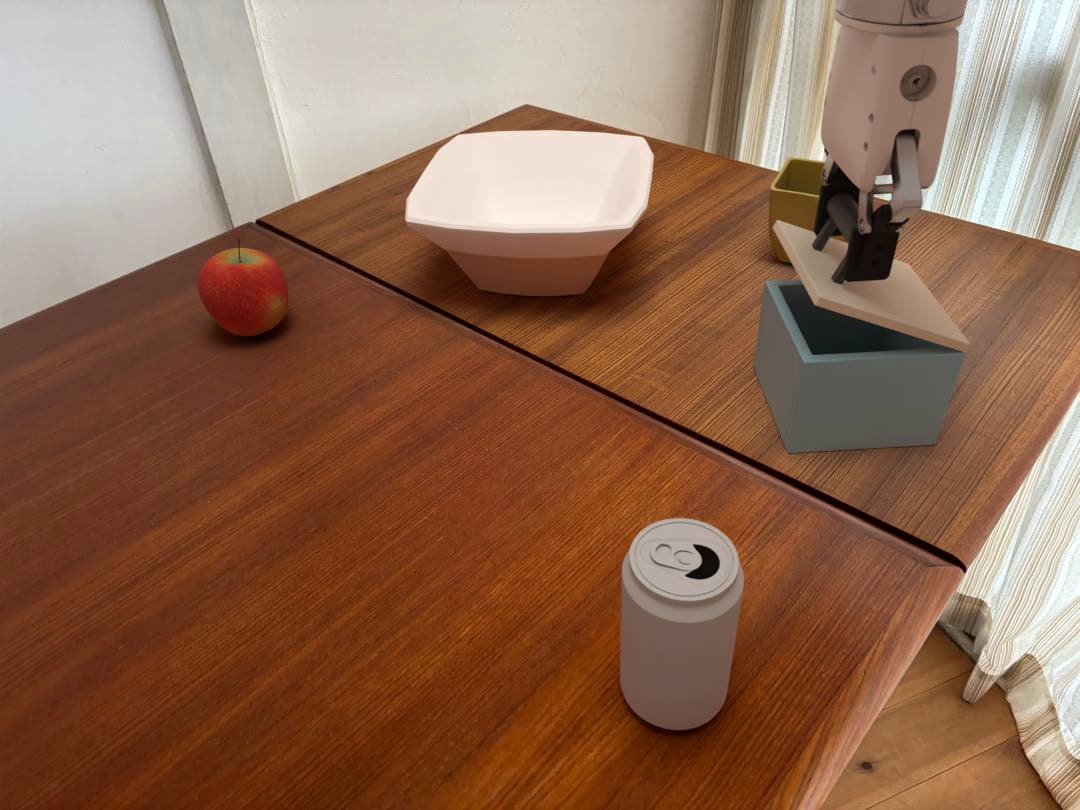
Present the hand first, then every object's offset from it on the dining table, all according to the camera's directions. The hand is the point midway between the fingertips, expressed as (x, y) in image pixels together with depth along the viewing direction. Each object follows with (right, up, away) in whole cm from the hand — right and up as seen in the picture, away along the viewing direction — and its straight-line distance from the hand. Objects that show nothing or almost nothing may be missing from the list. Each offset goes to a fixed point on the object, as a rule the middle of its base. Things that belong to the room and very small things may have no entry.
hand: (849, 253), depth 63 cm
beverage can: (-15, -29, -11) cm, 34 cm away
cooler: (+2, -11, +9) cm, 14 cm away
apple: (-52, -4, +22) cm, 56 cm away
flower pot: (+6, +5, +29) cm, 30 cm away
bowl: (-23, +4, +30) cm, 38 cm away
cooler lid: (+2, -2, +2) cm, 3 cm away
